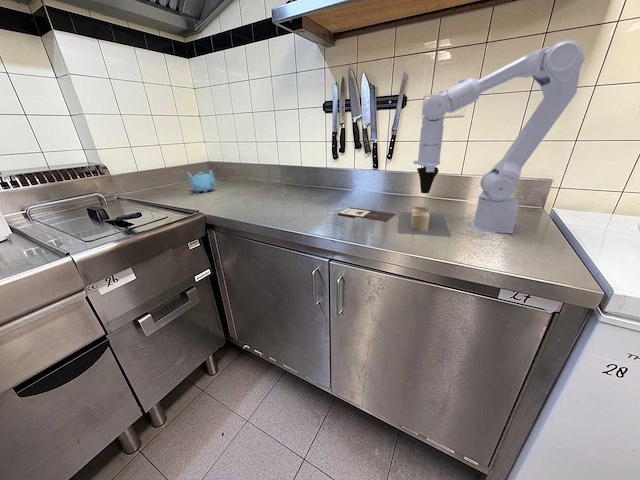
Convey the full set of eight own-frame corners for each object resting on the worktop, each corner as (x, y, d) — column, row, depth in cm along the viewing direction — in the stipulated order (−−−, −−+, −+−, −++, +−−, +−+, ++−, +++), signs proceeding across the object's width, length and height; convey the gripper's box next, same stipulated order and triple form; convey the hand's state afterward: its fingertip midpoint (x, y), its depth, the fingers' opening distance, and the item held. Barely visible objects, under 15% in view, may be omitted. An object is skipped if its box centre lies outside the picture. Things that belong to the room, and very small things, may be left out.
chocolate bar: (386, 221, 85) (337, 213, 94) (386, 224, 85) (337, 216, 94) (396, 213, 91) (349, 207, 101) (396, 216, 92) (349, 209, 101)
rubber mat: (442, 215, 90) (442, 213, 89) (450, 238, 72) (451, 236, 72) (399, 213, 94) (399, 211, 93) (397, 234, 76) (397, 233, 76)
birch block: (427, 207, 82) (429, 216, 74) (425, 220, 84) (427, 231, 76) (412, 206, 83) (412, 215, 75) (410, 220, 85) (411, 230, 77)
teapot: (192, 195, 132) (187, 175, 128) (190, 190, 143) (186, 171, 139) (219, 191, 138) (215, 172, 133) (215, 187, 148) (212, 168, 144)
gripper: (414, 143, 82) (410, 187, 87) (416, 147, 69) (411, 198, 74) (438, 142, 80) (433, 187, 85) (446, 146, 67) (438, 199, 73)
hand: (424, 192), depth 80 cm, fingers closed
